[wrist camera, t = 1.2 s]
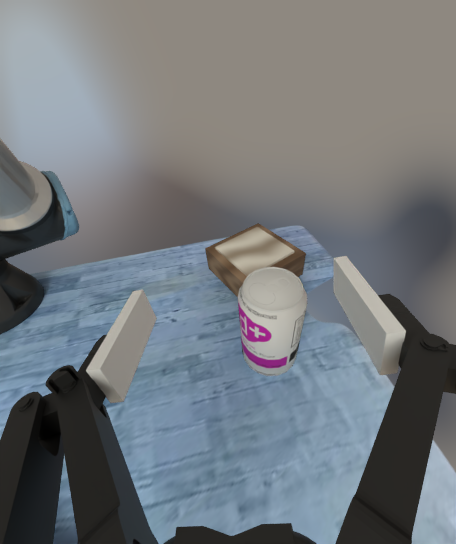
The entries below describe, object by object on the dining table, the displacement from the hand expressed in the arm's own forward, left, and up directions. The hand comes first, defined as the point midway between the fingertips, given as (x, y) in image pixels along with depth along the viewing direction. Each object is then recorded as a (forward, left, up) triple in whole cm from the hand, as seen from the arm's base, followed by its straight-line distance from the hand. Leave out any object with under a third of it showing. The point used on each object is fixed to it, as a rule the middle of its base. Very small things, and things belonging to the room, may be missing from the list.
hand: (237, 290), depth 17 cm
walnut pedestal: (-21, +18, -24) cm, 36 cm away
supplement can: (-5, +8, -24) cm, 26 cm away
